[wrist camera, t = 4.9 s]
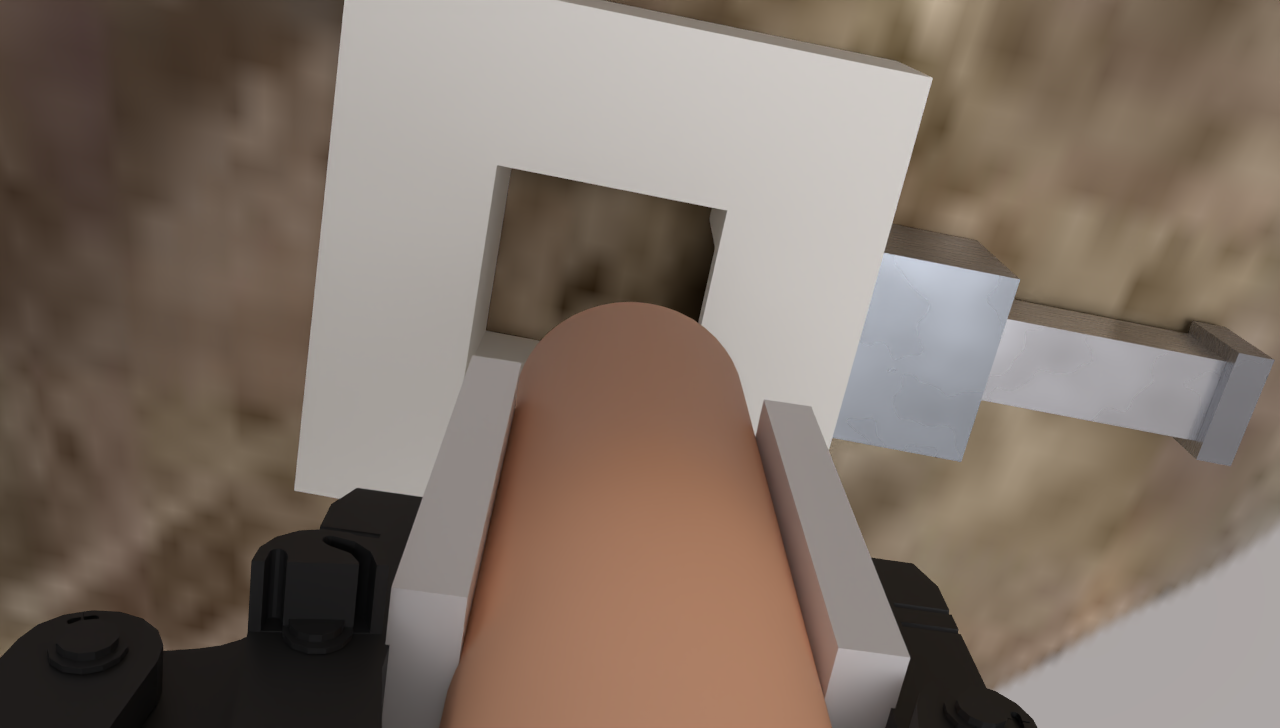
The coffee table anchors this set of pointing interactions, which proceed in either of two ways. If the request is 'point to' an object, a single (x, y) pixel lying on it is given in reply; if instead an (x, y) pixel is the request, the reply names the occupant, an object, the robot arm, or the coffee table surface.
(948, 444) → the pin guide
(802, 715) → the peg
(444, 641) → the robot arm
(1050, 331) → the lock pin
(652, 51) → the dock
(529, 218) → the coffee table surface
